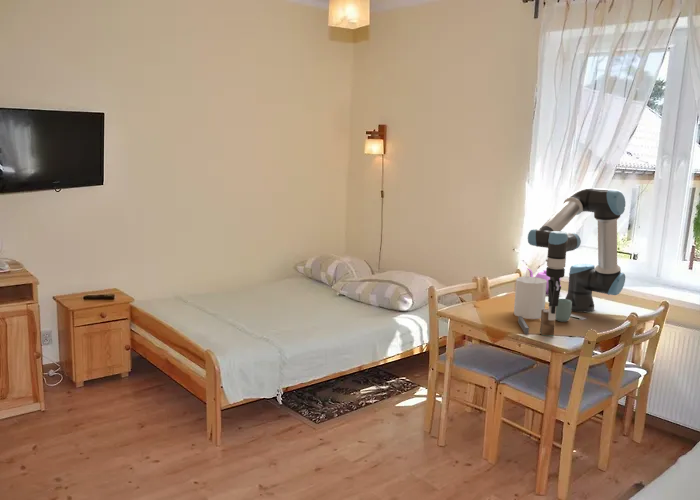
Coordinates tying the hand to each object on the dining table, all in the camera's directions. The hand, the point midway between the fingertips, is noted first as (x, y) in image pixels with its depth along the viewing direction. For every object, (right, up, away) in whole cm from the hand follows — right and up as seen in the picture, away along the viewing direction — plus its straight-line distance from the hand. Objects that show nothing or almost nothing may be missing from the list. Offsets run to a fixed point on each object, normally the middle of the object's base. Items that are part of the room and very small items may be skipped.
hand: (551, 319), depth 268 cm
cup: (+14, -4, +28) cm, 32 cm away
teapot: (+22, +7, +83) cm, 86 cm away
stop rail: (-8, -6, +16) cm, 19 cm away
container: (+1, -2, +37) cm, 38 cm away
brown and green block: (0, -7, +8) cm, 11 cm away
